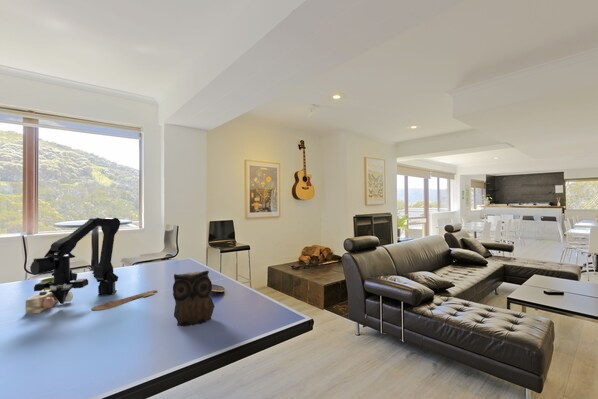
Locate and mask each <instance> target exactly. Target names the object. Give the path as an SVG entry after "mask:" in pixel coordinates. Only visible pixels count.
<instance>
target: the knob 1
mask: <svg viewBox="0 0 598 399" xmlns="http://www.w3.org/2000/svg"><path fill="white" fill-rule="evenodd" d="M54 305H55V304H54V298H53V297H50V298H44V299H43V301H42V308H47V309H49V308H53V306H54Z"/></svg>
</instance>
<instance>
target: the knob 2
mask: <svg viewBox="0 0 598 399" xmlns="http://www.w3.org/2000/svg"><path fill="white" fill-rule="evenodd" d="M52 297H53V298H54V300H57V298H56V297H55V296H54V295H53V296H52ZM73 298H74V293H73V291H69V292H68V294H67V297H66V299H65V302H64V303H66V302H71V301H72V300H73Z"/></svg>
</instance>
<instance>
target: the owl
mask: <svg viewBox="0 0 598 399" xmlns="http://www.w3.org/2000/svg"><path fill="white" fill-rule="evenodd" d="M173 279H174V283H173V285H172V296H173V299H174V302H175V304H174V312H173V316H174V319H175V320H176V321H177V324H176V326H178V327H185V328H186V327H189V326H195V325H202V324H204V323H205V324H206V323H207V322H209V321H211V320H212V316H213V313H214V309H215V303H214V301H213V298H212V296H211V292H212V291H213V284H212V281H211V279H210V277H209V270H204V271H194V272H186V273H182V274H181V273H180V274H176V273H174V274H173Z"/></svg>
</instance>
